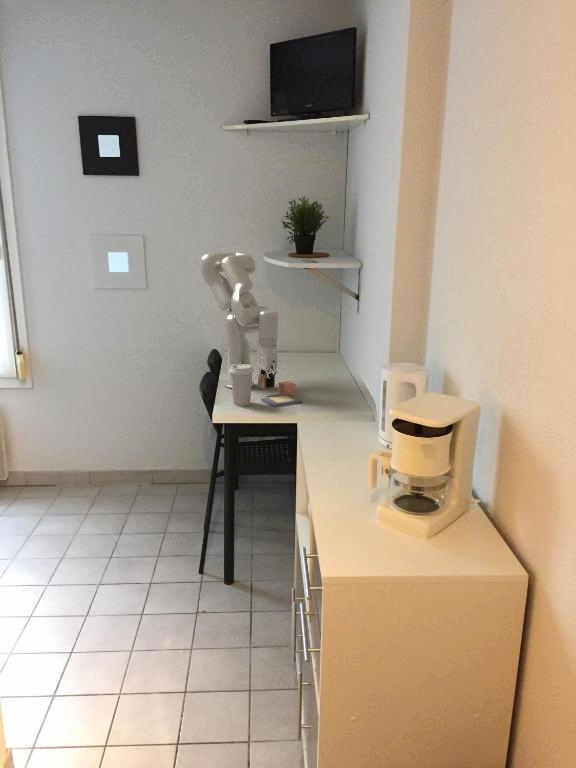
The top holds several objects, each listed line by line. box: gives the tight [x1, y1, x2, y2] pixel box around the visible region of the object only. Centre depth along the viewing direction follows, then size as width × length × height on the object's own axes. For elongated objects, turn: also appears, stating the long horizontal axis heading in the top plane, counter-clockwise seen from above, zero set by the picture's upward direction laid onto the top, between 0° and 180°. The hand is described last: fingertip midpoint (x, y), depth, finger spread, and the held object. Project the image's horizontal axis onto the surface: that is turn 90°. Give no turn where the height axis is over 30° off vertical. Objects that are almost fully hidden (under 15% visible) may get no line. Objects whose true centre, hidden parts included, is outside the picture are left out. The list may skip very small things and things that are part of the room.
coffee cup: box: [229, 364, 254, 407], centre depth 253 cm, size 10×10×15 cm
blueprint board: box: [260, 394, 303, 408], centre depth 257 cm, size 10×13×1 cm
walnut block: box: [257, 373, 276, 391], centre depth 264 cm, size 5×5×5 cm
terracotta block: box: [278, 380, 296, 396], centre depth 267 cm, size 5×5×5 cm
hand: (266, 384), depth 264 cm, fingers closed on walnut block, 5 cm apart
